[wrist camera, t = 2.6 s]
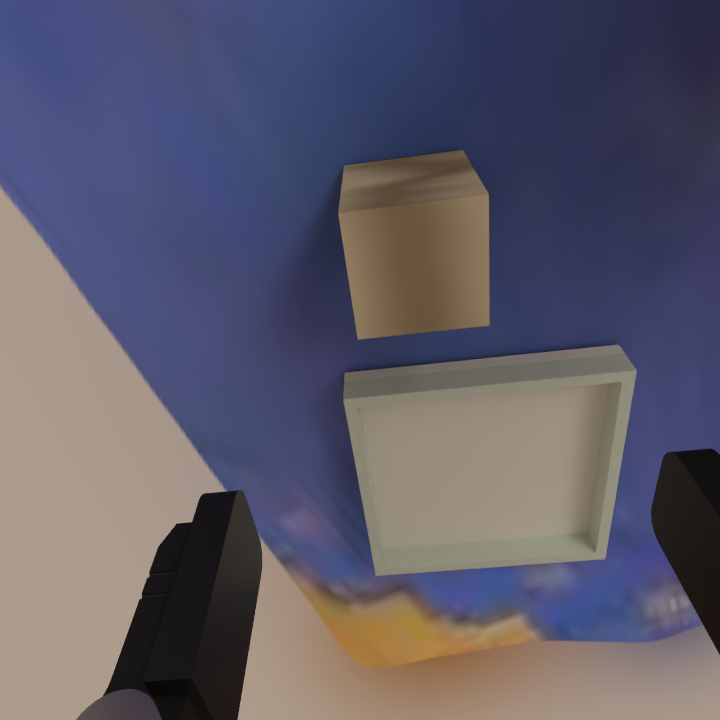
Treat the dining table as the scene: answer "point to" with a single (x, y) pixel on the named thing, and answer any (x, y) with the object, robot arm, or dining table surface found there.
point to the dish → (490, 458)
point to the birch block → (416, 244)
